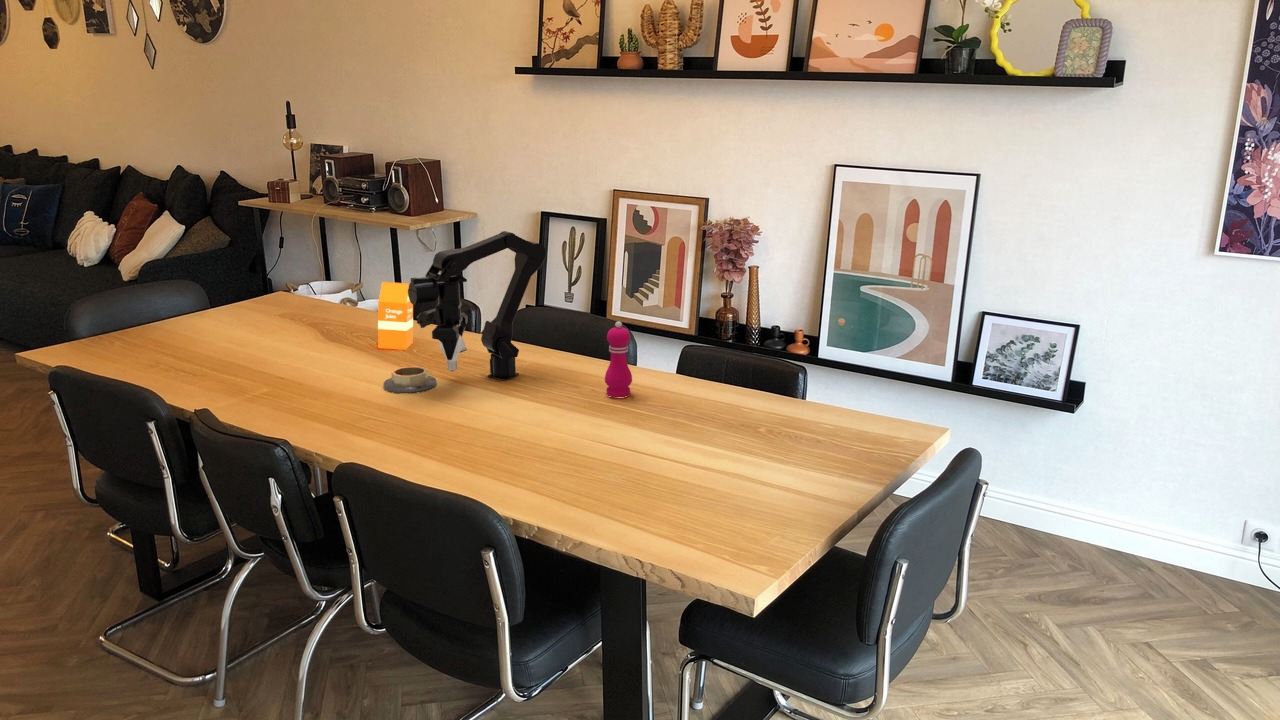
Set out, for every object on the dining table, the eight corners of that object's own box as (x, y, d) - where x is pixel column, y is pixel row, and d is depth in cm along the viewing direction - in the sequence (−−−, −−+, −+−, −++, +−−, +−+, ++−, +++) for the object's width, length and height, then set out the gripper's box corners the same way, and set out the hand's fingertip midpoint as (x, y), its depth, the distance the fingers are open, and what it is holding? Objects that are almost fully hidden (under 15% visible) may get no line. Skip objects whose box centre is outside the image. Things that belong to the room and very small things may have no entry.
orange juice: (406, 349, 288) (406, 285, 283) (377, 348, 288) (377, 283, 283) (413, 344, 295) (413, 281, 291) (385, 342, 295) (385, 279, 291)
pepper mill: (608, 400, 243) (608, 325, 238) (602, 391, 250) (601, 318, 244) (635, 398, 245) (635, 323, 239) (628, 389, 252) (628, 317, 246)
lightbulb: (466, 367, 256) (464, 328, 253) (462, 374, 250) (460, 334, 246) (442, 367, 255) (440, 328, 252) (438, 374, 249) (436, 334, 246)
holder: (447, 383, 256) (446, 369, 255) (411, 396, 244) (410, 382, 243) (409, 375, 263) (408, 361, 262) (372, 388, 251) (371, 373, 250)
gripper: (425, 292, 256) (428, 347, 260) (410, 307, 238) (414, 366, 242) (466, 292, 256) (469, 347, 260) (454, 307, 238) (457, 366, 242)
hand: (451, 356), depth 251 cm, fingers closed on lightbulb, 6 cm apart
